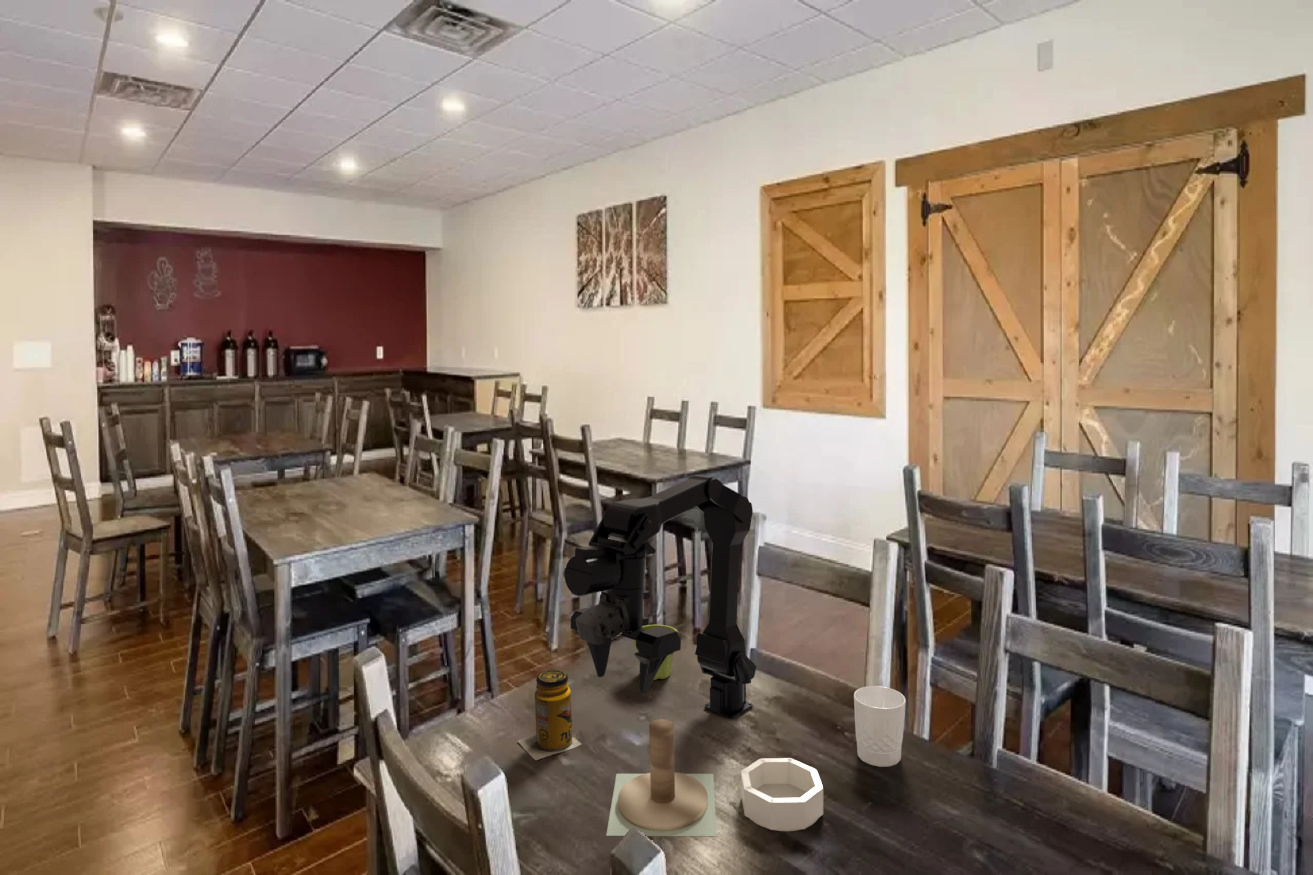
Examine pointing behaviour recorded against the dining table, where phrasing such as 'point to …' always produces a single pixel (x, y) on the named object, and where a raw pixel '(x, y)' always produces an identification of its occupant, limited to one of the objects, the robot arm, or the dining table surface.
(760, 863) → the dining table surface
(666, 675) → the plant pot
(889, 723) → the white cup
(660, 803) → the birch cover
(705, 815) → the sage mat
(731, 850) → the dining table surface
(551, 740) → the condiment
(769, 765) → the ceramic bowl
